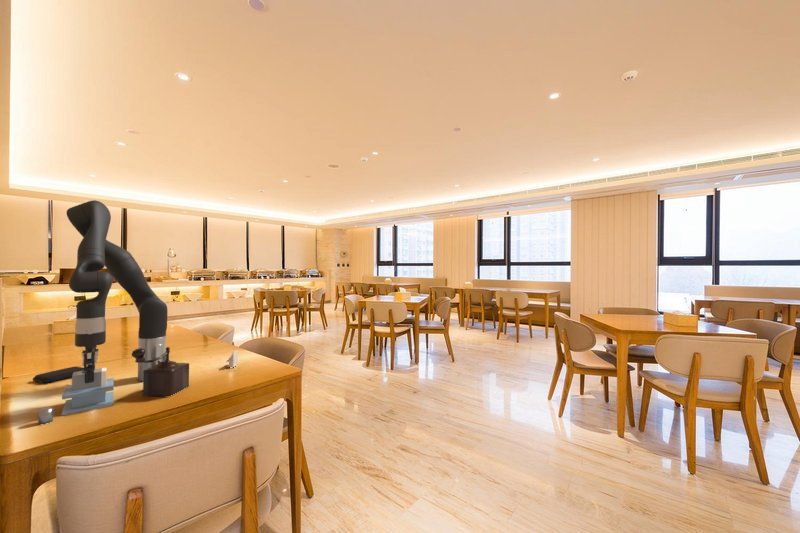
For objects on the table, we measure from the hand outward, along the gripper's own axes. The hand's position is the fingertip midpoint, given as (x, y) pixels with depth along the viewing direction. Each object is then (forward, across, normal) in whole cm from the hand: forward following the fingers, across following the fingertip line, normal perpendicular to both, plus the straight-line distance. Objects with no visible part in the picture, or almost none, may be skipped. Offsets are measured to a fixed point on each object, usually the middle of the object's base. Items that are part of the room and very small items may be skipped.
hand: (89, 379), depth 109 cm
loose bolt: (+8, +9, -9) cm, 15 cm away
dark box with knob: (+9, +4, +19) cm, 21 cm away
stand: (+8, 0, 0) cm, 8 cm away
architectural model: (+9, -14, +48) cm, 51 cm away
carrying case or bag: (+9, -42, -10) cm, 44 cm away
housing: (+2, 0, 0) cm, 2 cm away
